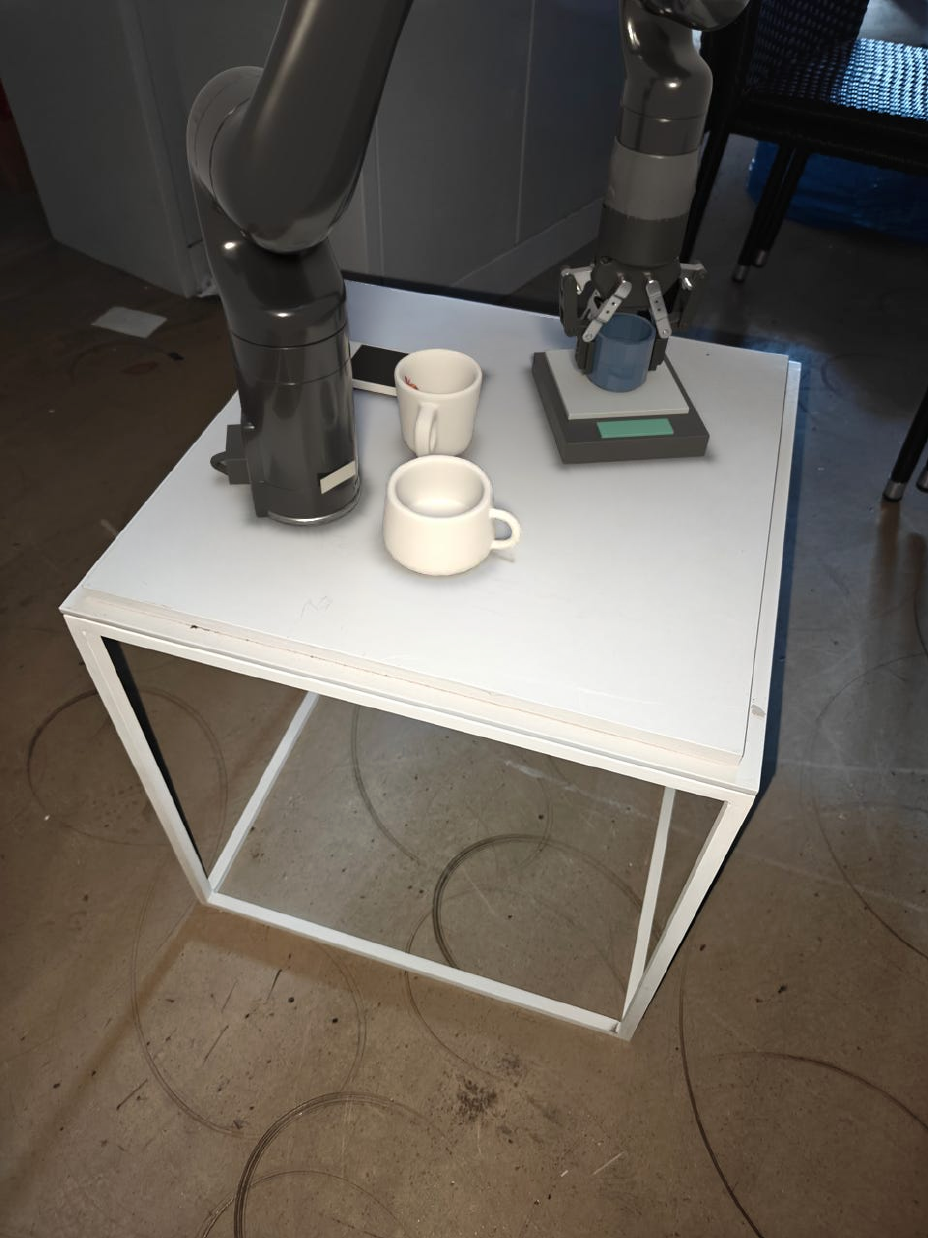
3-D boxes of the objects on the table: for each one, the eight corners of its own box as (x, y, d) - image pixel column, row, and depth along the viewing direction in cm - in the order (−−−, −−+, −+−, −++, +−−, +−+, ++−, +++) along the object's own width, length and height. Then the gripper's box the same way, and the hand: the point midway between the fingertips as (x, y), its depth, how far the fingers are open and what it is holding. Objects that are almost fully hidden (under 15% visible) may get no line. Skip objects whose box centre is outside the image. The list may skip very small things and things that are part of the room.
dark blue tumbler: (593, 396, 87) (601, 345, 83) (580, 363, 91) (587, 313, 87) (652, 393, 88) (663, 343, 84) (636, 360, 92) (646, 311, 88)
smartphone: (345, 346, 97) (345, 338, 97) (481, 373, 95) (481, 365, 94) (319, 380, 93) (318, 372, 92) (461, 410, 90) (461, 402, 89)
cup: (463, 493, 81) (466, 420, 76) (379, 480, 82) (375, 406, 76) (485, 425, 89) (490, 353, 83) (407, 414, 89) (406, 342, 84)
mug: (364, 562, 75) (361, 507, 70) (407, 493, 81) (406, 439, 77) (501, 600, 72) (506, 545, 68) (534, 526, 79) (540, 471, 74)
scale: (563, 464, 85) (567, 438, 83) (531, 372, 96) (534, 346, 93) (704, 456, 87) (711, 430, 84) (657, 366, 97) (663, 341, 95)
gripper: (713, 176, 80) (675, 345, 92) (556, 180, 78) (539, 351, 91) (742, 212, 75) (697, 386, 87) (575, 217, 73) (554, 393, 86)
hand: (617, 367), depth 89 cm, fingers closed on dark blue tumbler, 6 cm apart
